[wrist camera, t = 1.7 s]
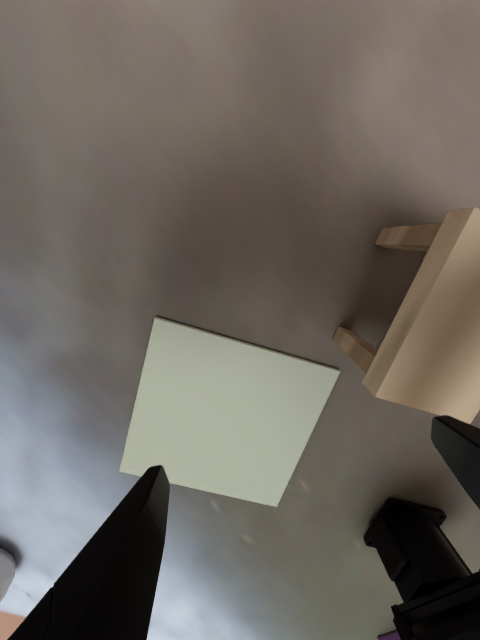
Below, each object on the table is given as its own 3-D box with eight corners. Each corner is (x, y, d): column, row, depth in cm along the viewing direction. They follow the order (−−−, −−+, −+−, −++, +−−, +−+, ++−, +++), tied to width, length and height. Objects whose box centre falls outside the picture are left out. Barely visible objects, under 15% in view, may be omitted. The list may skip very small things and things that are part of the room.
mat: (338, 369, 23) (340, 371, 22) (276, 503, 27) (276, 507, 27) (156, 316, 21) (154, 317, 21) (121, 467, 25) (119, 471, 25)
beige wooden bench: (451, 246, 20) (586, 249, 12) (390, 361, 23) (470, 423, 15) (379, 220, 19) (474, 207, 12) (326, 342, 22) (374, 396, 14)
